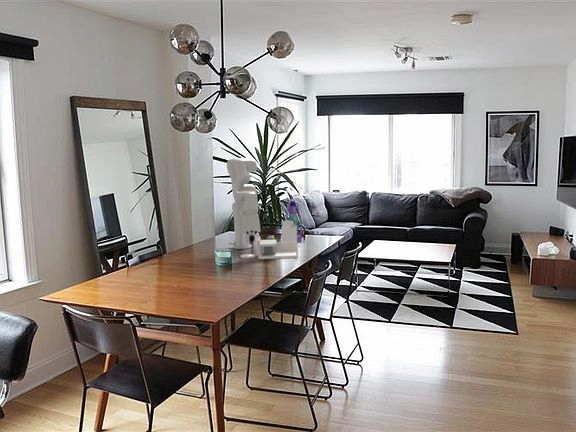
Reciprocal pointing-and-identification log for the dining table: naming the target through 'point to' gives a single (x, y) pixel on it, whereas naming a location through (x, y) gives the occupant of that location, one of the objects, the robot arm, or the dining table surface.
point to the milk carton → (289, 231)
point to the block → (268, 250)
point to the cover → (266, 242)
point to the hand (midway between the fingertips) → (252, 241)
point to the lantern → (294, 217)
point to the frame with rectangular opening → (281, 251)
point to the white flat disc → (247, 256)
